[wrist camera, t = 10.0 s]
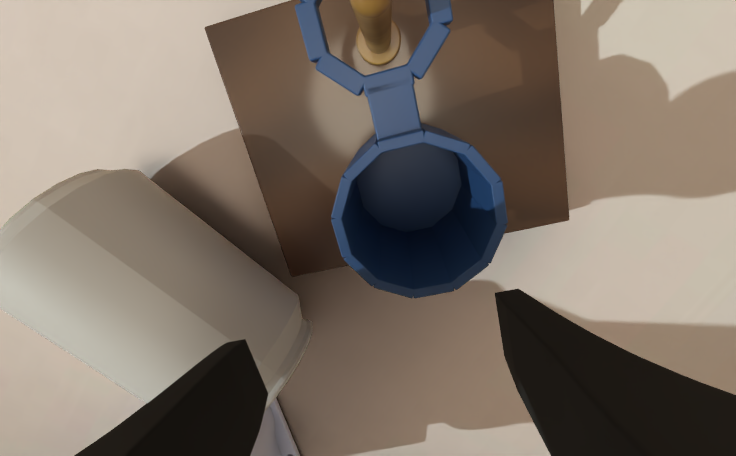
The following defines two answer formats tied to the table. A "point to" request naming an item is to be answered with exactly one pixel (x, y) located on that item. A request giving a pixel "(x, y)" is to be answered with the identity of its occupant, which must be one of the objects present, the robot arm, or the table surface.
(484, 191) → the cup
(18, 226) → the can
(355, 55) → the peg stand
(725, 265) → the table surface
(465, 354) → the table surface
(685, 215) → the table surface
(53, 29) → the table surface
